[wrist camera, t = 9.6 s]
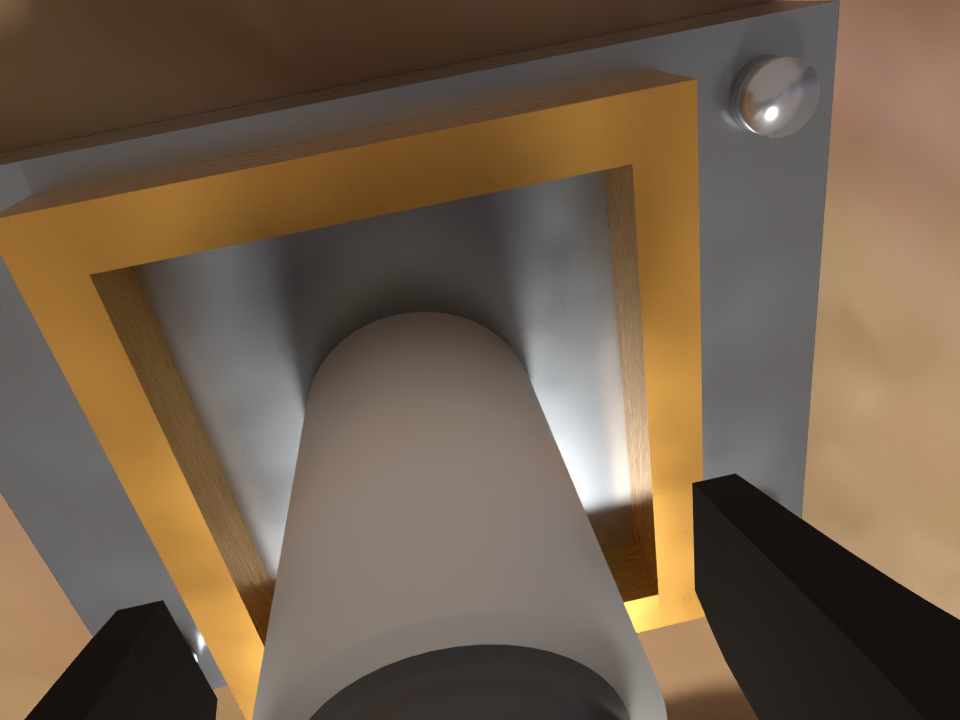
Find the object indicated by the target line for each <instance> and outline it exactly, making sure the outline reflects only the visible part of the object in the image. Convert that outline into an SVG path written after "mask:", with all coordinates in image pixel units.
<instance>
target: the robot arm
mask: <svg viewBox="0 0 960 720" xmlns="http://www.w3.org/2000/svg"><path fill="white" fill-rule="evenodd" d="M692 497H693V538H694V579H695V592H696V594H697V597H698V599H699V601H700V604H701V606H702V609H703V611H704V613H705V616H706V618H707V620H708V623H709V625H710V627H711V630H712V632H713V634H714V636H715V639H716V641H717V643H718V645H719V648H720V650H721V652H722V654H723V656H724V659H725V661H726V663H727V664H728V666H729V668H730V670H731V672H732V673H733V675H734V677H735V679H736V680H737V682H738V684H739V686H740V687H741V689H742V691H743V693H744V694H745V696H746V698H747V700H748V702H749V703H750V705H751V707H752V709H753V710H754V712H755V714H756V716H757V717H758V719H759V720H960V620H959V619H957V618H956V617H954V616H952V615H950V614H949V613H947V612H945V611H944V610H942V609H940V608H939V607H937V606H935V605H933V604H932V603H930V602H928V601H927V600H925V599H923V598H922V597H920V596H918V595H917V594H915V593H914V592H912V591H910V590H909V589H907V588H905V587H904V586H902V585H901V584H899V583H897V582H896V581H894V580H893V579H891V578H890V577H888V576H887V575H885V574H884V573H882V572H880V571H879V570H877V569H876V568H874V567H873V566H871V565H870V564H868V563H867V562H865V561H863V560H862V559H860V558H859V557H857V556H856V555H854V554H853V553H851V552H850V551H848V550H847V549H845V548H844V547H842V546H841V545H839V544H838V543H836V542H835V541H833V540H832V539H830V538H829V537H827V536H826V535H824V534H823V533H821V532H820V531H818V530H817V529H816V528H814V527H813V526H811V525H810V524H808V523H807V522H805V521H804V520H802V519H801V518H799V517H798V516H797V515H795V514H794V513H792V512H791V511H789V510H788V509H787V508H785V507H784V506H782V505H781V504H779V503H778V502H776V501H775V500H774V499H772V498H771V497H769V496H768V495H766V494H765V493H764V492H762V491H761V490H759V489H758V488H756V487H755V486H753V485H752V484H750V483H749V482H748V481H746V480H745V479H743V478H742V477H740V476H739V475H737V474H736V473H735V474H730V475H726V476H721V477H717V478H712V479H708V480H703V481H699V482H694V483H692ZM216 709H217V697H216V695H215V694H214V692H213V690H212V688H211V686H210V684H209V683H208V681H207V679H206V677H205V675H204V674H203V672H202V670H201V668H200V666H199V664H198V663H197V661H196V659H195V657H194V655H193V653H192V652H191V650H190V648H189V646H188V644H187V643H186V641H185V639H184V637H183V635H182V633H181V632H180V630H179V628H178V626H177V624H176V623H175V621H174V619H173V617H172V615H171V613H170V612H169V610H168V608H167V606H166V604H165V602H164V601H163V600H161V601H157V602H152V603H148V604H143V605H139V606H134V607H129V608H125V609H120V610H117V611H116V612H115V613H114V614H113V615H112V617H111V618H110V619H109V620H108V621H107V622H106V623H105V624H104V625H103V627H102V628H101V629H100V630H99V631H98V632H97V634H96V635H95V636H94V637H93V638H92V639H91V641H90V642H89V643H88V644H87V645H86V646H85V648H84V649H83V650H82V651H81V652H80V654H79V655H78V656H77V657H76V658H75V660H74V661H73V662H72V663H71V664H70V666H69V667H68V668H67V669H66V670H65V672H64V673H63V674H62V675H61V676H60V678H59V679H58V680H57V681H56V682H55V684H54V685H53V686H52V687H51V688H50V690H49V691H48V692H47V693H46V694H45V696H44V697H43V698H42V699H41V701H40V702H39V703H38V704H37V705H36V706H35V708H34V709H33V710H32V711H31V712H30V714H29V715H28V716H27V717H26V718H25V719H24V720H215V719H216Z"/></svg>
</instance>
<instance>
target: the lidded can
mask: <svg viewBox="0 0 960 720" xmlns="http://www.w3.org/2000/svg"><path fill="white" fill-rule="evenodd" d="M252 720H667V714H666V707H665V702H664V699H663V696H662V694H661V691H660V688H659V685H658V683H657V681H656V678H655V676H654V674H653V671H652V669H651V666H650V664H649V662H648V659H647V657H646V655H645V652H644V650H643V647H642V645H641V643H640V640H639V638H638V636H637V633H636V631H635V628H634V626H633V624H632V621H631V619H630V617H629V614H628V612H627V609H626V607H625V605H624V602H623V600H622V598H621V595H620V593H619V590H618V588H617V586H616V583H615V581H614V579H613V576H612V574H611V571H610V569H609V567H608V564H607V562H606V559H605V557H604V555H603V552H602V550H601V548H600V545H599V543H598V540H597V538H596V536H595V533H594V531H593V529H592V526H591V524H590V521H589V519H588V517H587V514H586V512H585V510H584V507H583V505H582V502H581V500H580V498H579V495H578V493H577V491H576V488H575V486H574V483H573V481H572V479H571V476H570V474H569V472H568V469H567V467H566V464H565V462H564V460H563V457H562V455H561V453H560V450H559V448H558V445H557V443H556V441H555V438H554V436H553V434H552V431H551V429H550V426H549V424H548V422H547V419H546V417H545V415H544V412H543V410H542V407H541V405H540V403H539V400H538V398H537V395H536V393H535V391H534V388H533V386H532V384H531V381H530V379H529V376H528V374H527V372H526V369H525V368H524V366H523V364H522V362H521V360H520V359H519V357H518V356H517V355H516V353H515V352H514V351H513V350H512V348H511V347H510V346H509V345H508V344H507V343H506V342H505V341H504V340H503V339H502V338H500V337H499V336H498V335H496V334H495V333H493V332H492V331H491V330H489V329H488V328H486V327H484V326H482V325H480V324H478V323H476V322H474V321H471V320H468V319H466V318H463V317H459V316H455V315H451V314H447V313H438V312H411V313H404V314H397V315H394V316H390V317H386V318H383V319H380V320H378V321H375V322H372V323H370V324H368V325H366V326H364V327H362V328H360V329H359V330H357V331H355V332H354V333H352V334H351V335H349V336H348V337H347V338H345V339H344V340H343V341H341V342H340V343H339V344H338V345H337V346H336V347H335V348H334V349H333V350H332V351H331V352H330V353H329V355H328V356H327V357H326V359H325V360H324V361H323V362H322V364H321V366H320V367H319V369H318V371H317V372H316V374H315V376H314V379H313V381H312V384H311V386H310V390H309V394H308V399H307V404H306V409H305V415H304V421H303V427H302V433H301V438H300V444H299V450H298V456H297V462H296V467H295V473H294V479H293V485H292V491H291V496H290V502H289V508H288V514H287V520H286V525H285V531H284V537H283V543H282V549H281V554H280V560H279V566H278V572H277V578H276V583H275V589H274V595H273V601H272V607H271V612H270V618H269V624H268V630H267V636H266V641H265V647H264V653H263V659H262V665H261V670H260V676H259V682H258V688H257V694H256V699H255V705H254V711H253V717H252Z"/></svg>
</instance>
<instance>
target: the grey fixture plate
mask: <svg viewBox="0 0 960 720" xmlns="http://www.w3.org/2000/svg"><path fill="white" fill-rule="evenodd" d="M839 6H840V0H834V1H774V2H769V3H764V4H759V5H753V6H748V7H743V8H738V9H733V10H728V11H723V12H718V13H713V14H707V15H702V16H697V17H692V18H687V19H682V20H677V21H672V22H667V23H661V24H656V25H651V26H646V27H641V28H636V29H631V30H626V31H621V32H615V33H610V34H605V35H600V36H595V37H590V38H585V39H580V40H574V41H569V42H564V43H559V44H554V45H549V46H544V47H539V48H534V49H528V50H523V51H518V52H513V53H508V54H503V55H498V56H493V57H488V58H482V59H477V60H472V61H467V62H462V63H457V64H452V65H447V66H442V67H436V68H431V69H426V70H421V71H416V72H411V73H406V74H401V75H395V76H390V77H385V78H380V79H375V80H370V81H365V82H360V83H355V84H349V85H344V86H339V87H334V88H329V89H324V90H319V91H314V92H309V93H303V94H298V95H293V96H288V97H283V98H278V99H273V100H268V101H263V102H257V103H252V104H247V105H242V106H237V107H232V108H227V109H222V110H217V111H211V112H206V113H201V114H196V115H191V116H186V117H181V118H176V119H170V120H165V121H160V122H155V123H150V124H145V125H140V126H135V127H130V128H124V129H119V130H114V131H109V132H104V133H99V134H94V135H89V136H84V137H78V138H73V139H68V140H63V141H58V142H53V143H48V144H43V145H38V146H32V147H27V148H22V149H17V150H12V151H7V152H2V153H0V493H1V494H2V496H3V497H4V499H5V500H6V502H7V504H8V505H9V507H10V508H11V510H12V511H13V513H14V514H15V516H16V518H17V519H18V521H19V522H20V524H21V525H22V527H23V529H24V530H25V532H26V533H27V535H28V536H29V538H30V539H31V541H32V543H33V544H34V546H35V547H36V549H37V550H38V552H39V554H40V555H41V557H42V558H43V560H44V561H45V563H46V564H47V566H48V568H49V569H50V571H51V572H52V574H53V575H54V577H55V579H56V580H57V582H58V583H59V585H60V586H61V588H62V589H63V591H64V593H65V594H66V596H67V597H68V599H69V600H70V602H71V604H72V605H73V607H74V608H75V610H76V611H77V613H78V614H79V616H80V618H81V619H82V621H83V622H84V624H85V625H86V627H87V629H88V630H89V632H90V633H91V635H92V636H93V637H94V636H95V635H96V634H97V632H98V631H99V630H100V629H101V628H102V627H103V625H104V624H105V623H106V622H107V621H108V620H109V619H110V618H111V617H112V615H113V614H114V613H115V612H116V611H117V610H120V609H125V608H129V607H134V606H139V605H143V604H148V603H152V602H157V601H161V600H163V601H164V602H165V604H166V606H167V608H168V610H169V612H170V613H171V615H172V617H173V619H174V621H175V623H176V624H177V626H178V628H179V630H180V632H181V633H182V635H183V637H184V639H185V641H186V643H187V644H188V646H189V648H190V650H191V652H192V653H193V655H194V657H195V659H196V661H197V663H198V664H199V666H200V668H201V670H202V672H203V674H204V675H205V677H206V679H207V681H208V683H209V684H210V686H211V688H212V689H216V688H220V687H224V686H229V688H230V690H231V692H232V694H233V696H234V698H235V699H236V701H237V703H238V705H239V707H240V709H241V711H242V713H243V715H244V716H245V718H246V720H252V717H253V711H254V705H255V699H256V694H257V688H258V682H259V676H260V670H261V665H262V659H263V653H264V647H265V641H266V636H267V630H268V624H269V618H270V612H271V607H272V601H273V595H274V589H275V583H276V578H277V572H278V566H279V560H280V554H281V549H282V543H283V537H284V531H285V525H286V520H287V514H288V508H289V502H290V496H291V491H292V485H293V479H294V473H295V467H296V462H297V456H298V450H299V444H300V438H301V433H302V427H303V421H304V415H305V409H306V404H307V399H308V394H309V390H310V386H311V384H312V381H313V379H314V376H315V374H316V372H317V371H318V369H319V367H320V366H321V364H322V362H323V361H324V360H325V359H326V357H327V356H328V355H329V353H330V352H331V351H332V350H333V349H334V348H335V347H336V346H337V345H338V344H339V343H340V342H341V341H343V340H344V339H345V338H347V337H348V336H349V335H351V334H352V333H354V332H355V331H357V330H359V329H360V328H362V327H364V326H366V325H368V324H370V323H372V322H375V321H378V320H380V319H383V318H386V317H390V316H394V315H397V314H404V313H411V312H438V313H447V314H451V315H455V316H459V317H463V318H466V319H468V320H471V321H474V322H476V323H478V324H480V325H482V326H484V327H486V328H488V329H489V330H491V331H492V332H493V333H495V334H496V335H498V336H499V337H500V338H502V339H503V340H504V341H505V342H506V343H507V344H508V345H509V346H510V347H511V348H512V350H513V351H514V352H515V353H516V355H517V356H518V357H519V359H520V360H521V362H522V364H523V366H524V368H525V369H526V372H527V374H528V376H529V379H530V381H531V384H532V386H533V388H534V391H535V393H536V395H537V398H538V400H539V403H540V405H541V407H542V410H543V412H544V415H545V417H546V419H547V422H548V424H549V426H550V429H551V431H552V434H553V436H554V438H555V441H556V443H557V445H558V448H559V450H560V453H561V455H562V457H563V460H564V462H565V464H566V467H567V469H568V472H569V474H570V476H571V479H572V481H573V483H574V486H575V488H576V491H577V493H578V495H579V498H580V500H581V502H582V505H583V507H584V510H585V512H586V514H587V517H588V519H589V521H590V524H591V526H592V529H593V531H594V533H595V536H596V538H597V540H598V543H599V545H600V548H601V550H602V552H603V555H604V557H605V559H606V562H607V564H608V567H609V569H610V571H611V574H612V576H613V579H614V581H615V583H616V586H617V588H618V590H619V593H620V595H621V598H622V600H623V602H624V605H625V607H626V609H627V612H628V614H629V617H630V619H631V621H632V624H633V626H634V628H635V631H636V633H638V632H642V631H646V630H650V629H655V628H659V627H663V626H668V625H672V624H676V623H681V622H685V621H689V620H694V619H698V618H702V617H705V613H704V611H703V609H702V606H701V604H700V601H699V599H698V597H697V594H696V592H695V579H694V538H693V497H692V483H694V482H699V481H703V480H708V479H712V478H717V477H721V476H726V475H730V474H735V473H736V474H737V475H739V476H740V477H742V478H743V479H745V480H746V481H748V482H749V483H750V484H752V485H753V486H755V487H756V488H758V489H759V490H761V491H762V492H764V493H765V494H766V495H768V496H769V497H771V498H772V499H774V500H775V501H776V502H778V503H779V504H781V505H782V506H784V507H785V508H787V509H788V510H789V511H791V512H792V513H794V514H795V515H797V516H798V517H799V518H801V519H802V507H803V493H804V480H805V466H806V453H807V439H808V425H809V412H810V398H811V385H812V371H813V358H814V344H815V331H816V317H817V304H818V290H819V277H820V263H821V250H822V236H823V223H824V209H825V196H826V182H827V169H828V155H829V141H830V128H831V114H832V101H833V87H834V74H835V60H836V47H837V33H838V20H839Z"/></svg>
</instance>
